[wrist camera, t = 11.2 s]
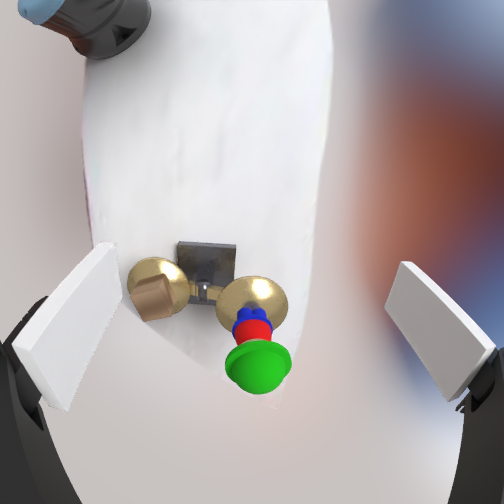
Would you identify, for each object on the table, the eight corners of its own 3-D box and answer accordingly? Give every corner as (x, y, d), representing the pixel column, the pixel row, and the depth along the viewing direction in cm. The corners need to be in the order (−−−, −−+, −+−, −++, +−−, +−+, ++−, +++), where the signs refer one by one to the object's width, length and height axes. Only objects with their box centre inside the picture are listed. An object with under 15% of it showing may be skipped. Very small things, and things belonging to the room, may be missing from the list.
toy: (280, 288, 39) (302, 364, 26) (274, 329, 42) (289, 405, 29) (226, 287, 39) (225, 365, 25) (225, 328, 42) (224, 406, 28)
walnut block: (138, 279, 42) (129, 296, 37) (165, 272, 42) (157, 289, 37) (151, 304, 44) (143, 321, 39) (176, 298, 44) (171, 316, 39)
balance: (136, 238, 46) (114, 265, 36) (282, 247, 49) (294, 277, 39) (141, 294, 51) (125, 328, 41) (273, 303, 53) (281, 339, 44)
